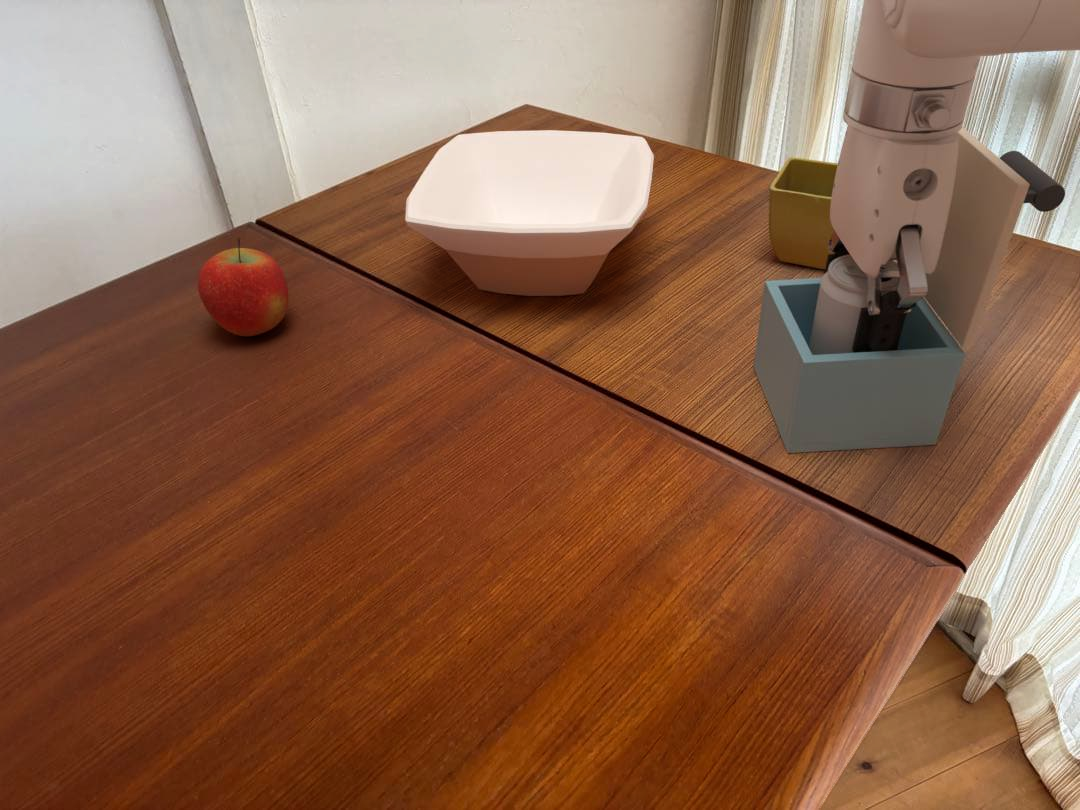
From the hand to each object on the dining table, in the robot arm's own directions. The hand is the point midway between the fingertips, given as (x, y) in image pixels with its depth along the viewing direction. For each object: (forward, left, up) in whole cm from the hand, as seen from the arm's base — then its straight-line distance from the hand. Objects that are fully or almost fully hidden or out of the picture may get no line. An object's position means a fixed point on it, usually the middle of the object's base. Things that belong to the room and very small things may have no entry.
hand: (856, 323), depth 67 cm
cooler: (0, 0, -8) cm, 8 cm away
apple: (+45, +34, -8) cm, 57 cm away
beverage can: (0, 0, -7) cm, 7 cm away
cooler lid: (-3, -5, +8) cm, 9 cm away
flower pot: (+18, -18, -8) cm, 27 cm away
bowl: (+36, +5, -8) cm, 37 cm away
